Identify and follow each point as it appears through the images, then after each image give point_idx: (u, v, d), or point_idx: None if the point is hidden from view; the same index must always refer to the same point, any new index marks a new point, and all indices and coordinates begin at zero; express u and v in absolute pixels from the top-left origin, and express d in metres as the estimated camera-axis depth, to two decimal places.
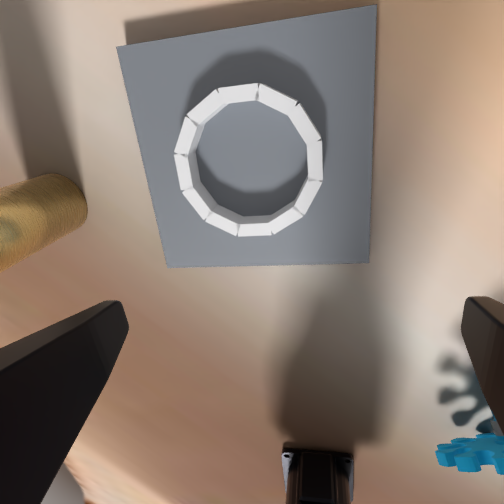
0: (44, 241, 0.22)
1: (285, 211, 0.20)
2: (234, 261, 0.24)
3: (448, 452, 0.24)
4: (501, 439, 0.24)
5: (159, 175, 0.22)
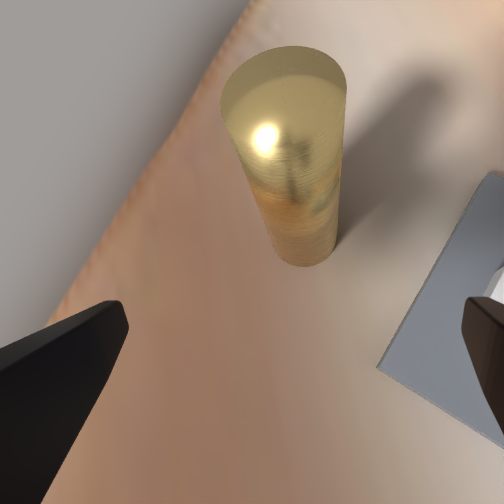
0: (314, 239, 0.19)
1: None
2: (476, 420, 0.17)
3: None
4: None
5: (449, 275, 0.20)
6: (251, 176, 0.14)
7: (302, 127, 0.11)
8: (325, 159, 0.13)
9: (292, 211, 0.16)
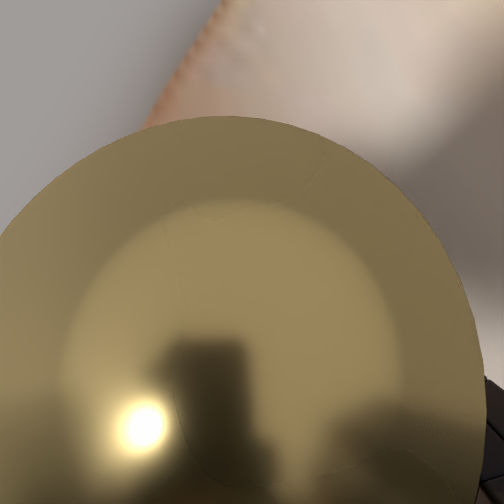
0: None
1: None
2: None
3: None
4: None
5: None
6: None
7: None
8: None
9: None
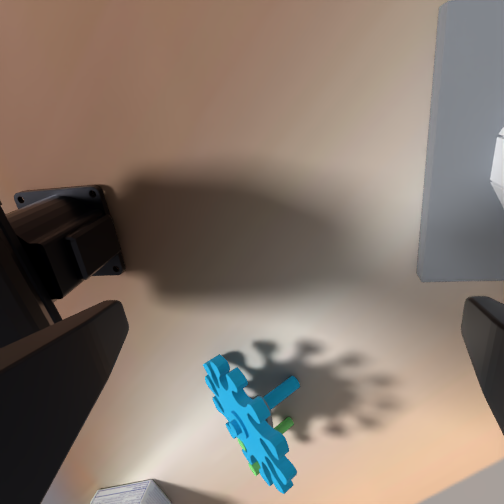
0: None
1: None
2: (444, 123, 0.17)
3: (246, 382, 0.22)
4: None
5: None
6: None
7: None
8: None
9: None
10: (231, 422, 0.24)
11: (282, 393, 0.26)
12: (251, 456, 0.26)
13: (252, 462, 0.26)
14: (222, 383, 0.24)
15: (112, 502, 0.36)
